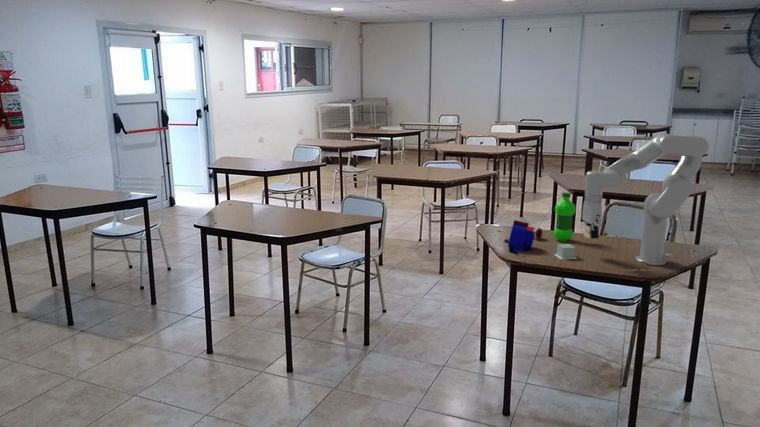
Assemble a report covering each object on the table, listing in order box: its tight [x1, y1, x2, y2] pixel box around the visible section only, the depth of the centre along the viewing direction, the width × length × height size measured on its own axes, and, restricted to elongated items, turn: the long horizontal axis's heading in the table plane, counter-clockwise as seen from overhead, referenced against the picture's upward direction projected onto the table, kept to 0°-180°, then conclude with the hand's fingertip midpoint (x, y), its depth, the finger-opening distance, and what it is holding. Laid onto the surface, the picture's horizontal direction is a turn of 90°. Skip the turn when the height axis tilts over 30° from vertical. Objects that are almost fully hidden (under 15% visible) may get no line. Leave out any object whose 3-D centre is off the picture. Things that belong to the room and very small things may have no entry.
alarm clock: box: [507, 219, 535, 254], centre depth 275 cm, size 12×12×15 cm
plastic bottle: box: [553, 192, 577, 242], centre depth 293 cm, size 10×10×25 cm
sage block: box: [555, 243, 576, 258], centre depth 262 cm, size 6×6×5 cm
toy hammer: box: [503, 225, 543, 244], centre depth 297 cm, size 23×12×6 cm, turn 127°
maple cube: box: [583, 225, 601, 240], centre depth 262 cm, size 5×5×5 cm
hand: (591, 236), depth 262 cm, fingers closed on maple cube, 4 cm apart
